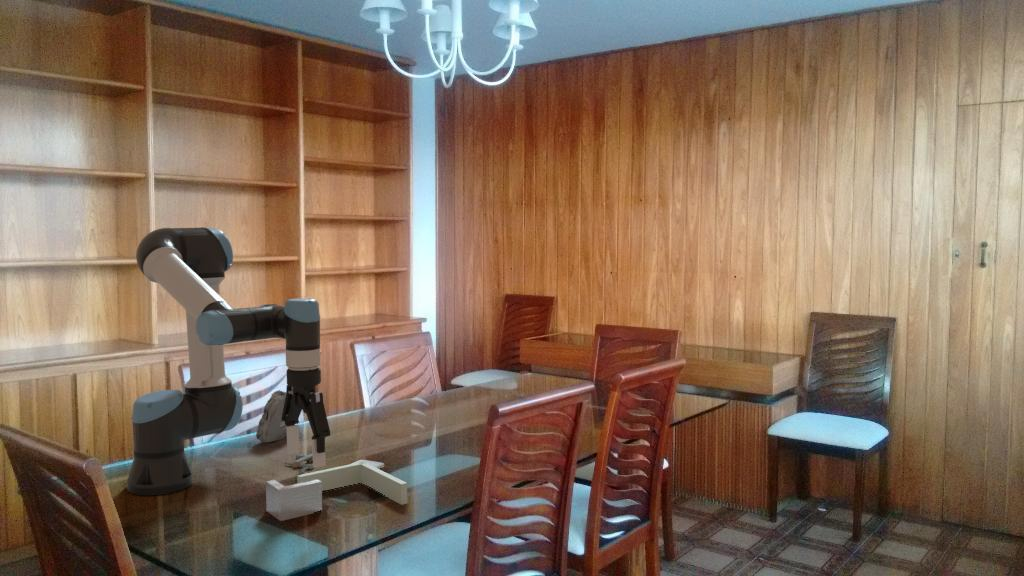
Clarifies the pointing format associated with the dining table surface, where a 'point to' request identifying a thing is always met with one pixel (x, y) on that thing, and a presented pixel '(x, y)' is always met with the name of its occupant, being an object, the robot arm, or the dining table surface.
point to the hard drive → (372, 463)
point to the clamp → (301, 458)
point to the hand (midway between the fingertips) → (305, 459)
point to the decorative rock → (272, 419)
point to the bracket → (293, 499)
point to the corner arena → (360, 480)
